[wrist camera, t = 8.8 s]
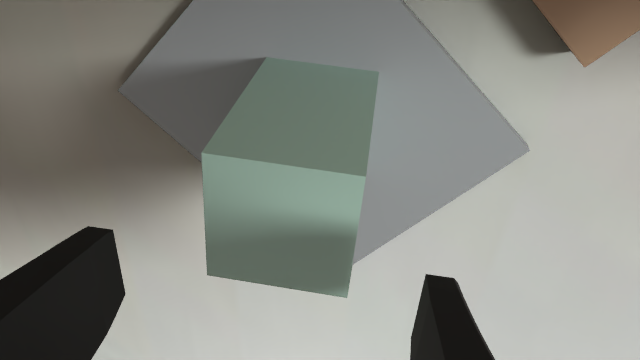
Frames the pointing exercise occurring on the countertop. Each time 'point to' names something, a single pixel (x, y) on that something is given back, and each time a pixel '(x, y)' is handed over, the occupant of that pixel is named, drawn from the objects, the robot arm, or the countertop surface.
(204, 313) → the countertop surface
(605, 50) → the pocket tray
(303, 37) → the rubber mat
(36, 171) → the countertop surface
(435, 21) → the countertop surface
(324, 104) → the green block
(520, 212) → the countertop surface
